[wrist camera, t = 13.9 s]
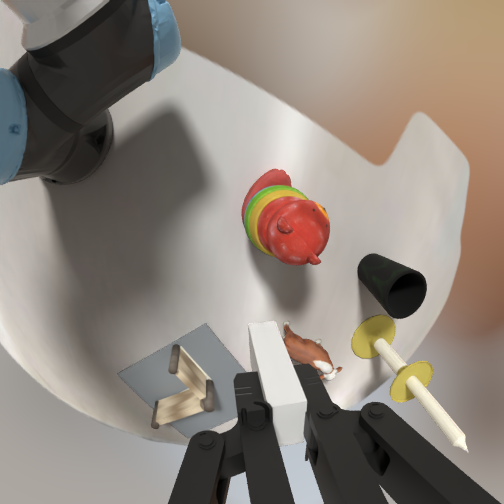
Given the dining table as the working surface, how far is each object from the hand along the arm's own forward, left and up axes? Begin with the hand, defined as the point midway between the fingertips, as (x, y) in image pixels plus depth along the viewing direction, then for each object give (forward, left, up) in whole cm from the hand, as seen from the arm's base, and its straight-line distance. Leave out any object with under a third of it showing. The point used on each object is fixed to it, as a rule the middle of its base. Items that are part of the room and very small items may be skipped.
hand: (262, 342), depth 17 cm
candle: (+34, +12, -32) cm, 48 cm away
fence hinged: (+22, -26, -31) cm, 46 cm away
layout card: (+23, -23, -32) cm, 45 cm away
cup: (+20, +17, -32) cm, 41 cm away
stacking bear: (+2, +7, -32) cm, 33 cm away
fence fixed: (+18, -19, -31) cm, 41 cm away
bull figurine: (+25, 0, -32) cm, 40 cm away
